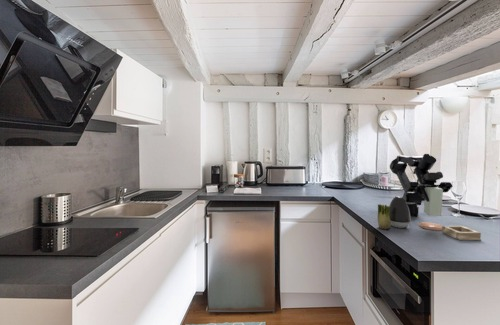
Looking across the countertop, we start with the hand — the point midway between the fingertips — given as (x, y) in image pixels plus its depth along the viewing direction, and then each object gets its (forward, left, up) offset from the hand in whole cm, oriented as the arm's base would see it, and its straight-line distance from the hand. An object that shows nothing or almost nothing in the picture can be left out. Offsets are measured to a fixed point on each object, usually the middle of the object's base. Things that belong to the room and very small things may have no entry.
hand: (434, 201), depth 113 cm
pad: (-1, +2, -13) cm, 13 cm away
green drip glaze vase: (-19, -14, -14) cm, 28 cm away
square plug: (-1, +1, -7) cm, 7 cm away
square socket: (+9, -5, -13) cm, 17 cm away
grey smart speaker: (-14, -6, -14) cm, 21 cm away
